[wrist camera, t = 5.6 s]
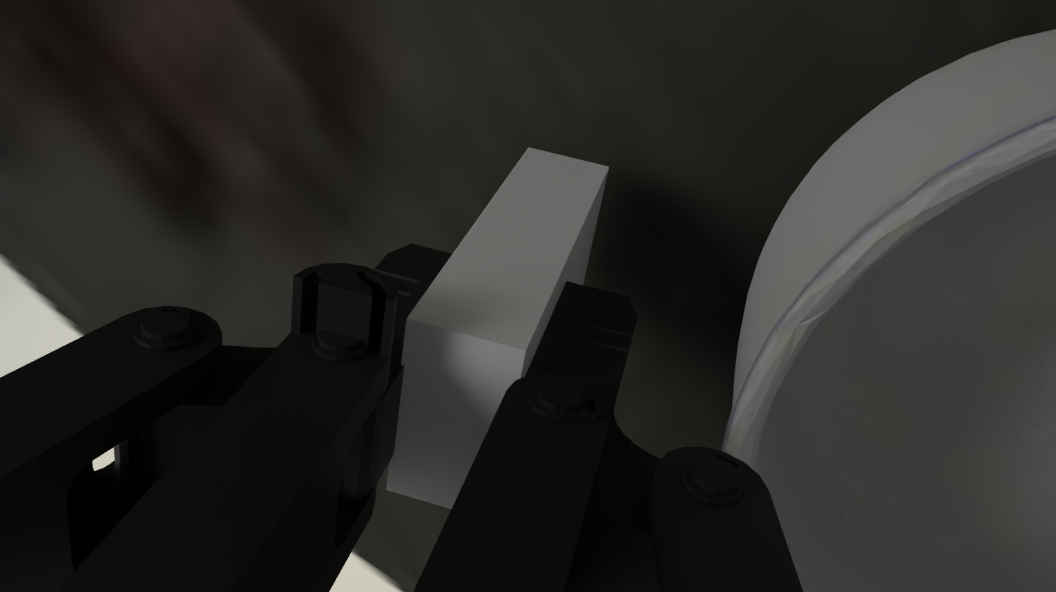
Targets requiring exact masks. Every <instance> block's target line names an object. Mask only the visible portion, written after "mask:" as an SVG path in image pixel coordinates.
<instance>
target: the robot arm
mask: <svg viewBox="0 0 1056 592" xmlns="http://www.w3.org/2000/svg"><path fill="white" fill-rule="evenodd" d="M608 170H609V167H608V166H604V165H600V164H596V163H591V162H587V161H583V160H579V159H575V158H571V157H567V156H562V155H558V154H554V153H550V152H546V151H542V150H537V149H533V148H529V147H528V149H527V150H526V152H525V153H524V154H523V156H522V157H521V159H520V160H519V161H518V163H517V164H516V166H515V167H514V168H513V170H512V171H511V173H510V174H509V176H508V177H507V178H506V180H505V181H504V183H503V184H502V185H501V187H500V188H499V190H498V191H497V192H496V194H495V195H494V197H493V198H492V199H491V201H490V202H489V204H488V205H487V206H486V208H485V209H484V211H483V212H482V213H481V215H480V216H479V218H478V219H477V220H476V222H475V223H474V225H473V226H472V227H471V229H470V230H469V232H468V233H467V234H466V236H465V237H464V239H463V240H462V241H461V243H460V244H459V246H458V247H457V249H456V250H455V251H454V253H453V254H450V253H446V252H443V251H439V250H435V249H431V248H427V247H423V246H419V245H415V244H412V243H411V244H409V245H407V246H405V247H402V248H400V249H398V250H395V251H393V252H391V253H388V254H387V255H386V256H385V257H384V259H383V260H382V261H381V262H380V263H379V264H378V266H377V267H376V268H375V269H374V270H372V269H370V268H367V267H365V266H359V265H353V264H346V263H332V264H321V265H317V266H313V267H309V268H306V269H304V270H302V271H301V272H299V273H297V274H296V275H294V278H293V298H292V319H291V333H290V334H289V335H288V336H287V337H286V338H285V339H284V340H283V341H282V343H281V344H280V345H279V346H278V347H275V348H254V347H240V346H225V345H222V331H221V329H220V327H219V325H218V323H217V322H216V321H215V320H214V319H212V318H211V317H209V316H208V315H206V314H205V313H202V312H199V311H196V310H192V309H189V308H184V307H174V306H161V307H154V308H145V309H142V310H139V311H136V312H133V313H130V314H127V315H124V316H122V317H120V318H118V319H116V320H114V321H112V322H111V323H109V324H107V325H105V326H103V327H101V328H99V329H97V330H95V331H93V332H91V333H89V334H87V335H85V336H83V337H81V338H79V339H77V340H75V341H73V342H71V343H69V344H67V345H65V346H63V347H61V348H59V349H57V350H55V351H53V352H51V353H49V354H47V355H45V356H43V357H41V358H39V359H37V360H35V361H33V362H31V363H29V364H27V365H25V366H23V367H21V368H19V369H17V370H15V371H13V372H11V373H9V374H7V375H5V376H3V377H1V378H0V592H329V591H330V589H331V587H332V586H333V584H334V582H335V580H336V578H337V577H338V575H339V573H340V571H341V570H342V568H343V566H344V564H345V562H346V561H347V559H348V557H349V555H350V553H351V552H352V550H353V548H354V546H355V545H356V543H357V541H358V539H359V537H360V536H361V534H362V532H363V530H364V528H365V527H366V525H367V523H368V521H369V519H370V518H371V516H372V512H373V508H374V504H375V497H376V488H377V482H378V480H379V479H380V477H381V475H382V473H383V472H384V470H385V468H386V467H387V465H388V463H389V461H390V463H389V471H388V480H387V488H386V490H388V491H391V492H395V493H398V494H402V495H405V496H409V497H412V498H415V499H419V500H422V501H426V502H429V503H433V504H436V505H440V506H443V507H446V508H450V509H451V511H450V514H449V516H448V518H447V520H446V522H445V524H444V527H443V529H442V531H441V533H440V535H439V537H438V540H437V542H436V544H435V546H434V548H433V550H432V553H431V555H430V557H429V559H428V561H427V563H426V566H425V568H424V570H423V572H422V574H421V576H420V579H419V581H418V583H417V585H416V587H415V589H414V592H803V589H802V586H801V583H800V580H799V577H798V575H797V572H796V569H795V566H794V563H793V560H792V557H791V554H790V551H789V548H788V545H787V542H786V539H785V536H784V533H783V530H782V527H781V524H780V521H779V518H778V515H777V512H776V509H775V506H774V503H773V501H772V498H771V495H770V492H769V490H768V488H767V486H766V485H765V483H764V481H763V480H762V478H761V476H760V475H759V474H758V473H757V472H755V471H754V470H753V469H752V468H751V467H750V466H748V465H747V464H746V463H745V462H743V461H741V460H739V459H737V458H735V457H733V456H731V455H729V454H727V453H725V452H722V451H718V450H714V449H710V448H706V447H682V448H679V449H676V450H673V451H670V452H667V453H666V455H665V456H664V457H663V458H662V459H659V458H657V457H655V456H653V455H651V454H649V453H648V452H646V451H645V450H643V449H641V448H640V447H638V446H637V445H635V444H634V443H633V442H632V441H631V440H630V439H628V438H627V437H626V436H625V435H624V434H623V432H622V431H621V429H620V428H619V427H618V425H617V423H616V420H615V417H614V406H615V402H616V399H617V395H618V391H619V387H620V383H621V379H622V376H623V372H624V368H625V364H626V360H627V356H628V352H629V348H630V345H631V341H632V337H633V333H634V329H635V325H636V321H637V318H638V316H637V313H636V311H635V309H634V307H633V305H632V303H631V300H630V298H629V297H627V296H623V295H619V294H615V293H611V292H608V291H604V290H600V289H596V288H592V287H588V286H584V285H583V283H584V278H585V274H586V269H587V265H588V260H589V256H590V251H591V247H592V242H593V238H594V233H595V229H596V224H597V220H598V215H599V211H600V206H601V201H602V197H603V192H604V188H605V183H606V179H607V174H608ZM113 447H114V454H115V461H113V462H112V463H110V464H109V465H107V466H106V467H104V468H102V469H99V470H97V471H94V469H93V464H92V461H93V460H94V459H96V458H97V457H99V456H100V455H102V454H104V453H105V452H107V451H108V450H110V449H112V448H113Z"/></svg>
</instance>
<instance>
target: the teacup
mask: <svg viewBox="0 0 1056 592" xmlns="http://www.w3.org/2000/svg"><path fill="white" fill-rule="evenodd" d="M721 451H722V452H725V453H727V454H729V455H731V456H733V457H735V458H737V459H739V460H741V461H743V462H745V463H746V464H747V465H748V466H750V467H751V468H752V469H753V470H754V471H755V472H757V473H758V474H759V475H760V476H761V478H762V480H763V481H764V483H765V485H766V486H767V488H768V490H769V492H770V495H771V498H772V501H773V503H774V506H775V509H776V512H777V515H778V518H779V521H780V524H781V527H782V530H783V533H784V536H785V539H786V542H787V545H788V548H789V551H790V554H791V557H792V560H793V563H794V566H795V569H796V572H797V575H798V577H799V580H800V583H801V586H802V589H803V592H1056V29H1055V30H1050V31H1046V32H1041V33H1037V34H1033V35H1028V36H1024V37H1019V38H1015V39H1012V40H1009V41H1006V42H1002V43H999V44H996V45H994V46H991V47H988V48H985V49H982V50H980V51H977V52H974V53H971V54H969V55H967V56H965V57H963V58H961V59H958V60H956V61H954V62H952V63H950V64H948V65H946V66H944V67H942V68H940V69H938V70H935V71H933V72H931V73H929V74H927V75H925V76H923V77H921V78H920V79H918V80H916V81H914V82H913V83H911V84H909V85H908V86H906V87H905V88H903V89H902V90H900V91H898V92H897V93H895V94H894V95H892V96H891V97H889V98H888V99H886V100H885V101H884V102H882V103H881V104H880V105H878V106H877V107H876V108H874V109H873V110H872V111H871V112H869V113H868V114H867V115H865V116H864V117H863V118H862V119H861V120H859V121H858V122H857V123H856V124H855V125H853V126H852V127H851V128H850V129H849V130H848V131H847V132H846V133H845V134H843V135H842V136H841V137H840V138H839V139H838V140H837V141H836V142H835V143H834V144H833V145H832V146H831V147H830V148H829V149H828V150H827V151H826V152H825V153H824V154H823V156H822V157H821V158H820V159H819V160H818V161H817V162H816V163H815V164H814V166H813V167H812V168H811V170H810V171H809V172H808V174H807V175H806V176H805V178H804V179H803V181H802V182H801V183H800V185H799V186H798V187H797V189H796V190H795V191H794V193H793V194H792V195H791V197H790V198H789V200H788V202H787V203H786V205H785V207H784V208H783V210H782V212H781V214H780V215H779V217H778V219H777V221H776V222H775V224H774V226H773V228H772V230H771V233H770V235H769V237H768V239H767V241H766V243H765V245H764V247H763V250H762V252H761V255H760V257H759V260H758V263H757V266H756V269H755V272H754V275H753V278H752V282H751V285H750V288H749V291H748V295H747V300H746V305H745V310H744V315H743V320H742V326H741V331H740V336H739V342H738V348H737V357H736V366H735V375H734V389H733V404H732V411H731V414H730V417H729V421H728V424H727V427H726V432H725V436H724V441H723V445H722V450H721Z"/></svg>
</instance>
